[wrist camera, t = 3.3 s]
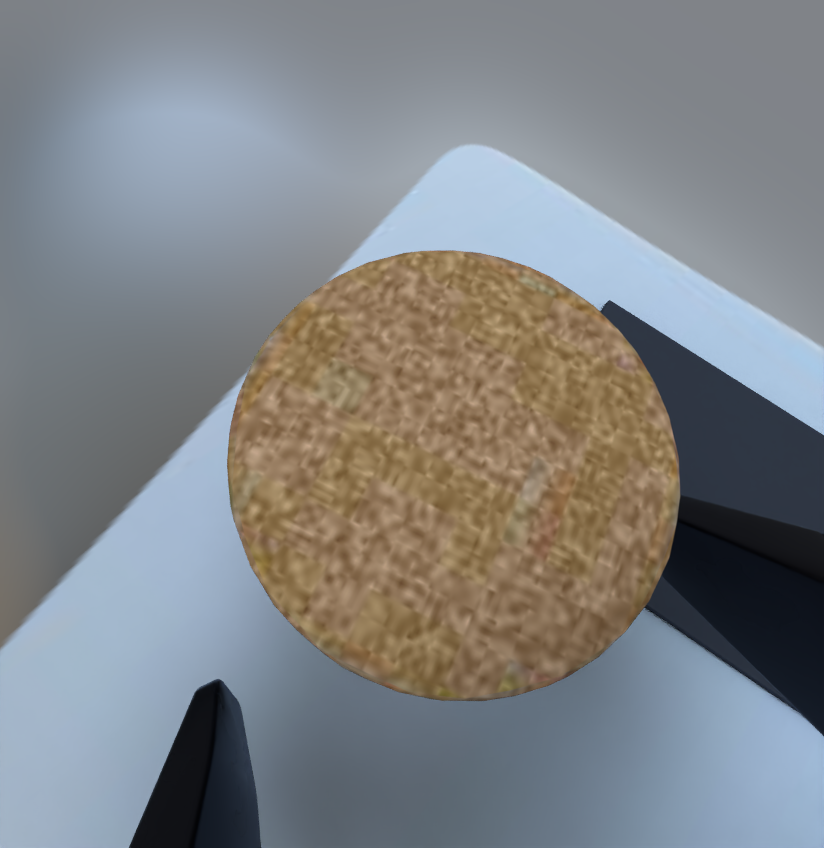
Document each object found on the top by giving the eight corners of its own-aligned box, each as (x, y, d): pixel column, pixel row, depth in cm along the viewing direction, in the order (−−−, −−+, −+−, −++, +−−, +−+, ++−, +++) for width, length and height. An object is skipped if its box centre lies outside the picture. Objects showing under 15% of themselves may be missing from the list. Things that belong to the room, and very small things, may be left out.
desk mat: (964, 531, 22) (975, 530, 22) (905, 785, 18) (917, 790, 18) (605, 303, 23) (609, 299, 23) (485, 497, 20) (488, 496, 19)
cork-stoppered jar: (386, 436, 20) (450, 126, 6) (483, 532, 19) (832, 449, 5) (282, 533, 18) (19, 433, 4) (384, 643, 18) (489, 979, 3)
